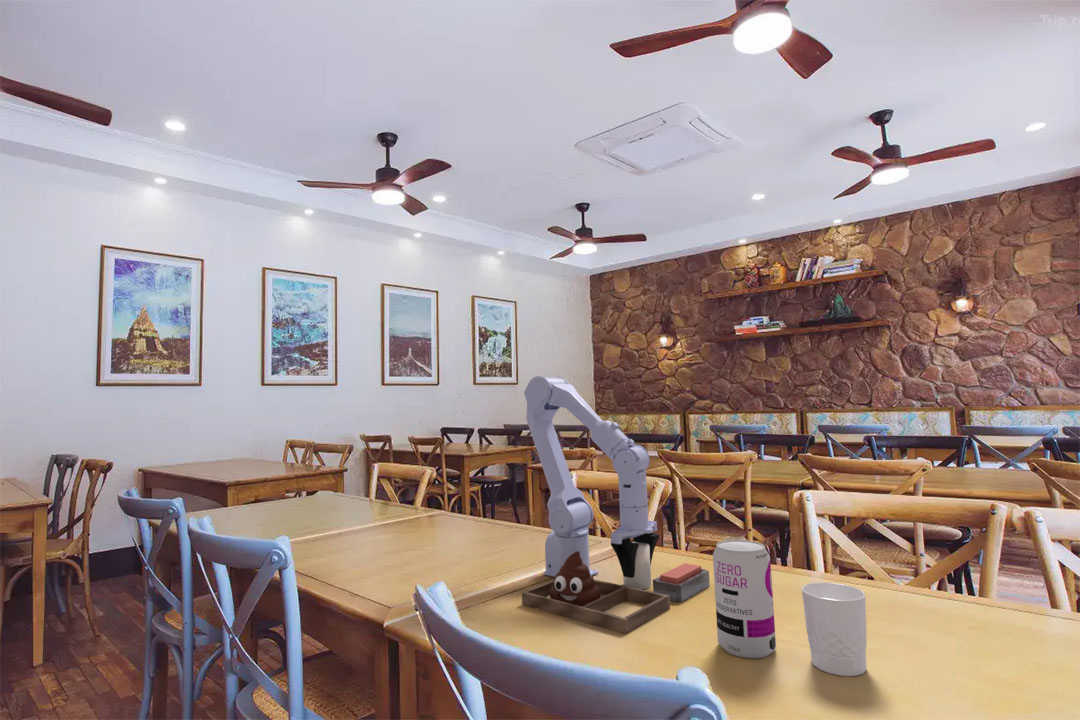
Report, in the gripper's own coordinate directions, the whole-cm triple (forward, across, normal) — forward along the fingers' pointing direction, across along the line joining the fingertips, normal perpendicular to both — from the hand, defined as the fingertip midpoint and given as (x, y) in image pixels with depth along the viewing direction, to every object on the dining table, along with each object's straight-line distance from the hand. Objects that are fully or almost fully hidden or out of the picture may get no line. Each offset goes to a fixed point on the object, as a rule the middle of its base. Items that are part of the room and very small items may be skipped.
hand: (636, 573), depth 116 cm
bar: (+2, +2, -9) cm, 9 cm away
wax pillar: (+2, 0, 0) cm, 2 cm away
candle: (+3, +10, -17) cm, 20 cm away
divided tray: (+2, -15, 0) cm, 15 cm away
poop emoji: (+3, -15, +5) cm, 16 cm away
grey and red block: (+2, +2, -9) cm, 10 cm away
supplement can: (+3, -16, -29) cm, 33 cm away
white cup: (+3, -14, -41) cm, 43 cm away
